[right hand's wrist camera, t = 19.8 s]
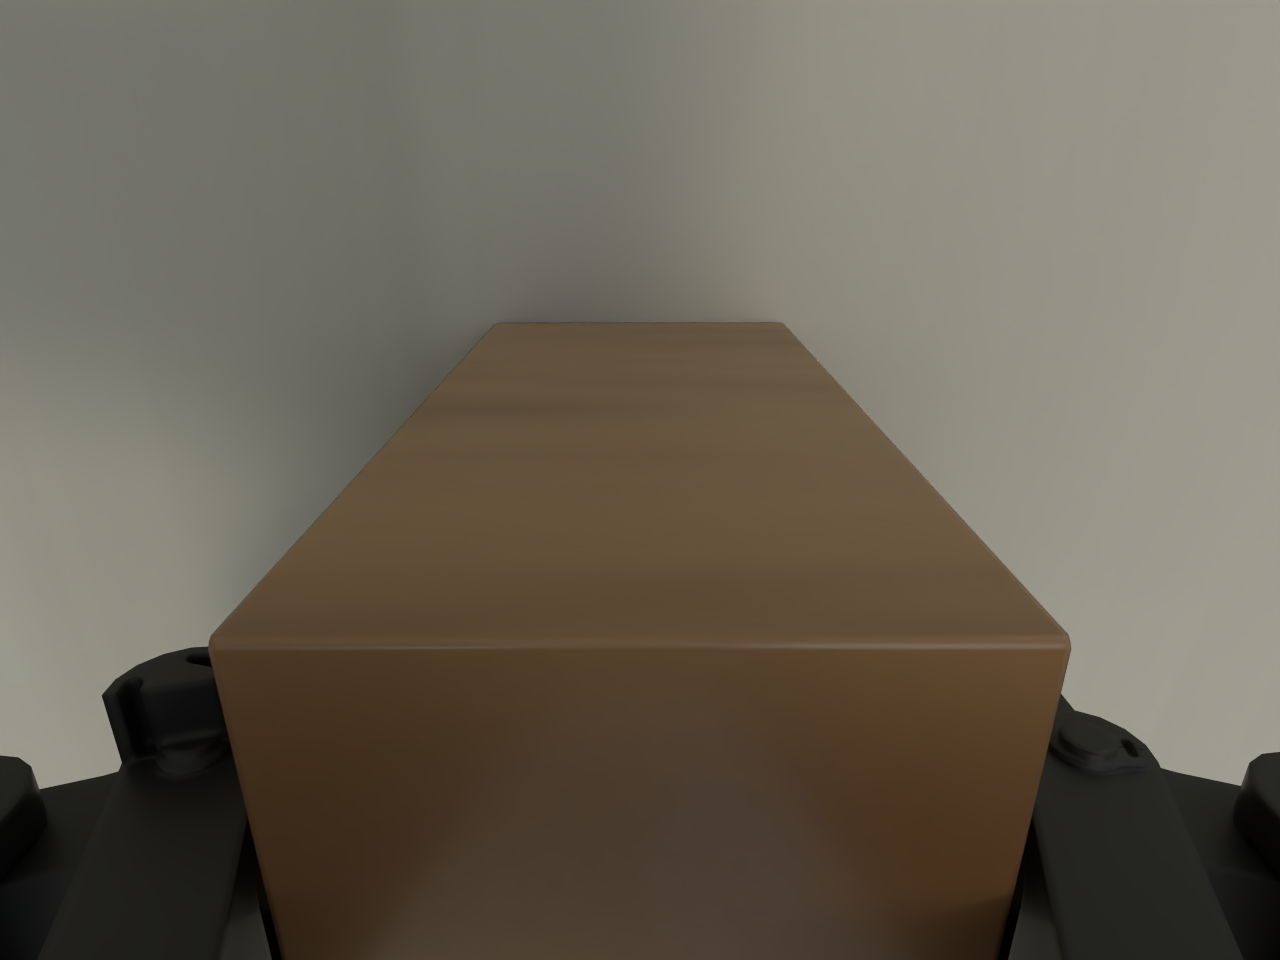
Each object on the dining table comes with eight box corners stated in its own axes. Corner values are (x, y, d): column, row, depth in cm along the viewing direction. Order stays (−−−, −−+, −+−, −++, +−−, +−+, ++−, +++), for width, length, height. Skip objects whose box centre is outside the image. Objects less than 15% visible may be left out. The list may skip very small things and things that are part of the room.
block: (764, 619, 18) (937, 1238, 8) (514, 619, 18) (343, 1239, 8) (784, 322, 16) (1080, 639, 5) (493, 322, 16) (198, 640, 5)
